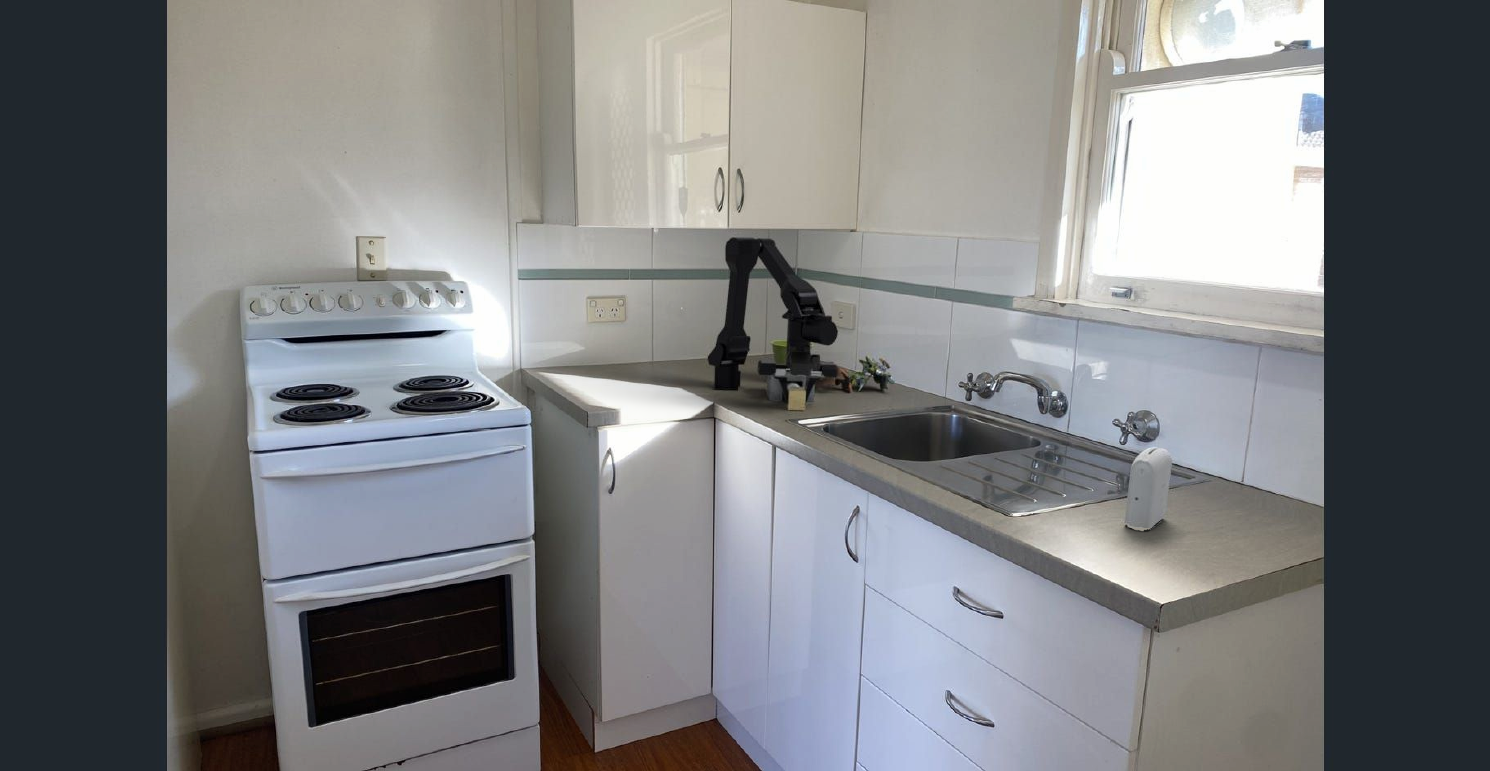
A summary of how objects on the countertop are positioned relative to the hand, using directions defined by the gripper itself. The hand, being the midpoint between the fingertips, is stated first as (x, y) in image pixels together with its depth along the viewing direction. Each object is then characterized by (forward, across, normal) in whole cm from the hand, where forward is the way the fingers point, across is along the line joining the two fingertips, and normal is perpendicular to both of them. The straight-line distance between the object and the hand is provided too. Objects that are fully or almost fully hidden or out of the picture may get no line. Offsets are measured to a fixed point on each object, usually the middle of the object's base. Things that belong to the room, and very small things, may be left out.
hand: (795, 403), depth 221 cm
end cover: (+1, 0, +6) cm, 6 cm away
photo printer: (+1, +48, -78) cm, 92 cm away
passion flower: (+2, +22, +23) cm, 32 cm away
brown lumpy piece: (+2, +13, +23) cm, 26 cm away
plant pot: (+2, +2, +31) cm, 31 cm away
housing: (+1, 0, +14) cm, 14 cm away
